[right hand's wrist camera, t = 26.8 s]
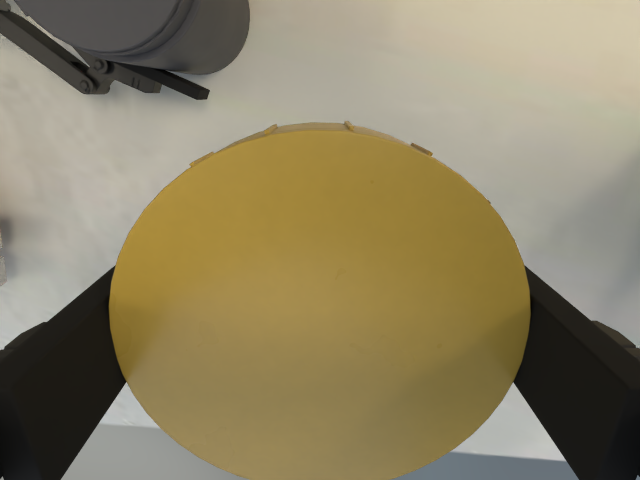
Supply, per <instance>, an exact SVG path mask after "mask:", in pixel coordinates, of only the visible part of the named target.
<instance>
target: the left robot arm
mask: <svg viewBox="0 0 640 480" xmlns="http://www.w3.org/2000/svg"><path fill="white" fill-rule="evenodd" d="M0 33H1V34H2V35H4V36H5V37H6V38H8V39H9V40H11V41H12V42H13V43H15V44H16V45H17V46H19V47H20V48H21V49H23V50H24V51H25V52H27V53H28V54H30V55H31V56H32V57H34V58H35V59H36V60H38V61H39V62H40V63H42V64H43V65H45V66H46V67H47V68H49V69H50V70H51V71H53V72H54V73H55V74H57V75H58V76H60V77H61V78H62V79H64V80H65V81H66V82H68V83H69V84H70V85H72V86H73V87H74V88H76V89H77V90H79V91H80V92H81V93H83V94H107V93H108V92H109V90H110V85H111V83H112V82H113V81H114V80H117V81H119V82H122V83H124V84H126V85H129V86H131V87H133V88H135V89H138V90H140V91H142V92H145V93H160V89H161V86H162V84H163V85H165V86H167V87H169V88H172V89H174V90H176V91H178V92H181V93H183V94H185V95H187V96H190V97H192V98H194V99H196V100H203V99H207V98H208V94H209V91H210V90H208V89H206V88H204V87H202V86H199V85H197V84H195V83H193V82H191V81H188V80H186V79H184V78H182V77H179V76H177V75H175V74H173V73H170V72H168V71H166V70H163V69H156V68H150V67H144V66H138V65H132V64H126V63H119V62H114V61H109V60H104V59H101V58H98V57H95V56H93V55H91V54H89V53H86V52H84V51H82V50H80V49H76V48H75V47H73V46H72V47H73V48H74V49H75V50H76V51H77V52H78V53H79V55H80V56H81V57H82V58H83V59H84V60H85V61H86V62H87V63H88V65H89V66H90V67H88V66H87V65H86V64H84V63H83V62H82V61H80V60H79V59H78V58H76V57H75V56H74V55H72V54H71V53H70V52H68V51H67V50H66V49H64V48H63V47H62V46H60V45H59V44H58V43H56V42H55V41H54V40H52V39H51V38H50V37H49V36H47V35H46V34H45V33H43V32H42V31H41V30H39V29H38V28H37V27H35V26H34V25H33V24H31V23H30V22H29V21H27V20H26V19H24V18H23V17H21V16H19V15H17V14H15V13H13V12H11V6H10V4H8V3H7V2H6V0H0Z"/></svg>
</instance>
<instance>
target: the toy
mask: <svg viewBox="0 0 640 480" xmlns="http://www.w3.org/2000/svg"><path fill="white" fill-rule="evenodd" d="M1 248H3V247H2V239H1V231H0V249H1ZM6 281H7V277H6V269H5V262H4V257H1V256H0V286H1V285H3V284H4V283H5V282H6Z"/></svg>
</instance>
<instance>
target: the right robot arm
mask: <svg viewBox="0 0 640 480" xmlns="http://www.w3.org/2000/svg"><path fill="white" fill-rule="evenodd" d="M115 266H116V265H115ZM115 266H114V267H113V268H112V269H110V270H109V271H108V272H107V273H106V274H104V275H103V276H102V277H101V278H100V279H98V280H97V281H96V282H95V283H94V284H92V285H91V286H90V287H89V288H88V289H86V290H85V291H84V292H83V293H82V294H80V295H79V296H78V297H77V298H76V299H74V300H73V301H72V302H71V303H69V304H68V305H67V306H66V307H65V308H63V309H62V310H61V311H60V312H59V313H57V314H56V315H55V316H54V317H53V318H51V319H50V320H49V321H48V322H43V323H41V324H39V325H37V326H35V327H33V328H31V329H29V330H27V331H25V332H23V333H21V334H20V335H19V336H18V337H16V338H15V339H14V340H13V341H11V342H10V343H9V344H8V345H6V346H5V348H4V350H0V479H1V477H2V476H3V478H4V480H61V478H62V477H63V475H64V474H65V472H66V471H67V469H68V468H69V466H70V465H71V463H72V462H73V460H74V459H75V457H76V456H77V455H78V453H79V452H80V450H81V449H82V447H83V446H84V444H85V443H86V441H87V440H88V438H89V437H90V435H91V434H92V432H93V431H94V429H95V428H96V426H97V425H98V423H99V422H100V420H101V419H102V417H103V416H104V414H105V413H106V412H107V410H108V409H109V407H110V406H111V404H112V403H113V401H114V400H115V398H116V397H117V395H118V394H119V392H120V391H121V389H122V388H123V386H124V385H125V383H126V380H125V378H124V376H123V374H122V371H121V368H120V366H119V363H118V360H117V356H116V352H115V348H114V344H113V339H112V335H111V330H110V320H109V299H110V290H111V281H112V277H113V274H114V270H115ZM524 267H525V271H526V276H527V280H528V285H529V291H530V309H531V316H530V326H529V333H528V338H527V342H526V346H525V350H524V355H523V359H522V362H521V365H520V367H519V370H518V372H517V374H516V377H515V379H514V381H513V382H514V384H515V385H516V387H517V388H518V390H519V391H520V393H521V394H522V396H523V397H524V399H525V400H526V401H527V403H528V404H529V406H530V407H531V409H532V410H533V412H534V413H535V415H536V416H537V418H538V419H539V421H540V422H541V424H542V425H543V427H544V428H545V430H546V431H547V433H548V434H549V436H550V437H551V439H552V440H553V442H554V443H555V445H556V446H557V447H558V449H559V450H560V452H561V453H562V455H563V456H564V458H565V459H566V461H567V462H568V464H569V465H570V467H571V468H572V470H573V471H574V473H575V474H576V476H577V477H578V479H579V480H636V477H637V475H639V477H640V349H639V348H636V345H634V344H633V343H632V342H631V341H629V340H628V339H627V338H626V337H624V336H623V335H622V334H621V333H619V332H618V331H616V330H614V329H612V328H610V327H608V326H606V325H604V324H602V323H600V322H598V321H591V320H589V319H588V318H587V317H586V316H585V315H583V314H582V313H581V312H580V311H579V310H577V309H576V308H575V307H574V306H573V305H571V304H570V303H569V302H568V301H567V300H565V299H564V298H563V297H562V296H561V295H559V294H558V293H557V292H556V291H555V290H553V289H552V288H551V287H550V286H549V285H547V284H546V283H545V282H544V281H543V280H541V279H540V278H539V277H538V276H537V275H535V274H534V273H533V272H532V271H531V270H529V269H528V268H527V267H526V266H525V265H524Z"/></svg>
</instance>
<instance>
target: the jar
mask: <svg viewBox="0 0 640 480" xmlns="http://www.w3.org/2000/svg"><path fill="white" fill-rule="evenodd" d="M14 1H15V2H16V3H17V5H18V6H19V7H20V9H21V10H22V11H23V12H24V14H25V15H26V16H30V17H31V18H32V19H33V20H34V21H35V22H36V23H37V24H39V25H40V26H41V27H43V28H44V29H45V30H46V31H48V32H49V33H51V34H52V35H53V36H54V37H56V38H58V39H60V40H62V41H64V42H65V43H67V44H69V45H71V46H73V47H75V48H76V49H80V50H82V51H84V52H86V53H89V54H91V55H93V56H95V57H98V58H101V59H104V60H109V61H114V62H119V63H126V64H132V65H138V66H144V67H150V68H156V69H163V70H169V71H175V72H181V73H187V74H194V75H203V74H210V73H214V72H216V71H219V70H221V69H223V68H224V67H226V66H227V65H228V64H230V63H231V62H232V61H233V60H234V59H235V58H236V57H237V55H238V54H239V52H240V51H241V49H242V47H243V45H244V43H245V41H246V38H247V34H248V30H249V22H250V11H249V4H248V0H14Z"/></svg>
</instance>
